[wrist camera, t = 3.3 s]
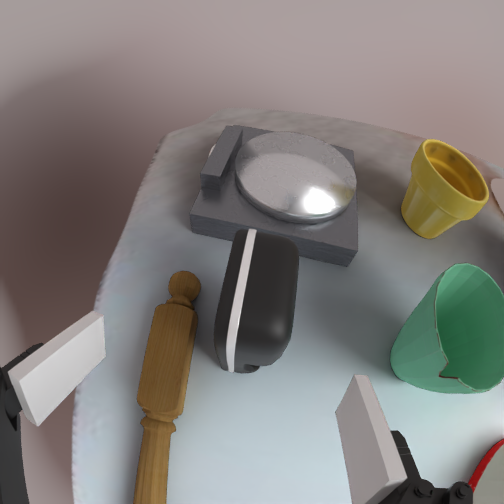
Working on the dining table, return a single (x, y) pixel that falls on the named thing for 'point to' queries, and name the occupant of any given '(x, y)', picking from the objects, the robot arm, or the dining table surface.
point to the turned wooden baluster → (165, 384)
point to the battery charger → (256, 301)
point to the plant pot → (441, 190)
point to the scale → (280, 192)
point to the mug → (454, 335)
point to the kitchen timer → (489, 477)
